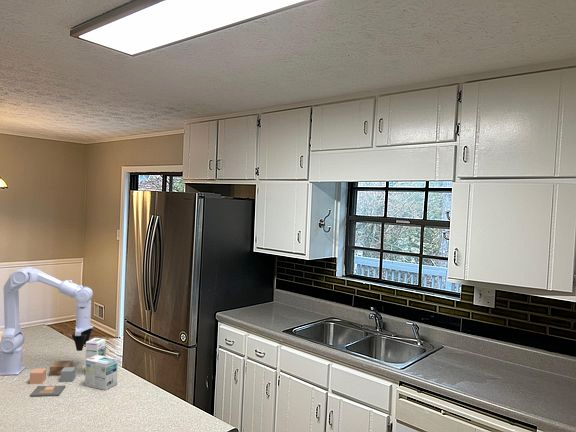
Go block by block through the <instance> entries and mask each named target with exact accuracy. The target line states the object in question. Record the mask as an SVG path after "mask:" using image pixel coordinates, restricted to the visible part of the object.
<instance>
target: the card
mask: <svg viewBox="0 0 576 432" xmlns="http://www.w3.org/2000/svg"><path fill="white" fill-rule="evenodd" d="M65 389H66V385H38V386H37V387H36V388H35V389H34V390H33V391H32V392H31V393H30V394H29V397H30V398H34V397H59V396H60V395H61V394H62V393H63V391H64V390H65Z"/></svg>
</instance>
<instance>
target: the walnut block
mask: <svg viewBox="0 0 576 432" xmlns="http://www.w3.org/2000/svg"><path fill="white" fill-rule="evenodd" d="M64 367H74V361H73V360H55V361H54V362H53V363H52V364H51V365H50V366H49V370H48V371H49V375H48V376H50V377H61V371H62V369H63V368H64Z"/></svg>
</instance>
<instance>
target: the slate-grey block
mask: <svg viewBox="0 0 576 432" xmlns="http://www.w3.org/2000/svg"><path fill="white" fill-rule="evenodd" d="M76 372H77V367H76V366H73V367H64V368H63V369H62V371H61V376H60V378H59V379H60V381H59V382H60V383H73V382H74V381H75V379H76V377H77V375H76Z"/></svg>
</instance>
